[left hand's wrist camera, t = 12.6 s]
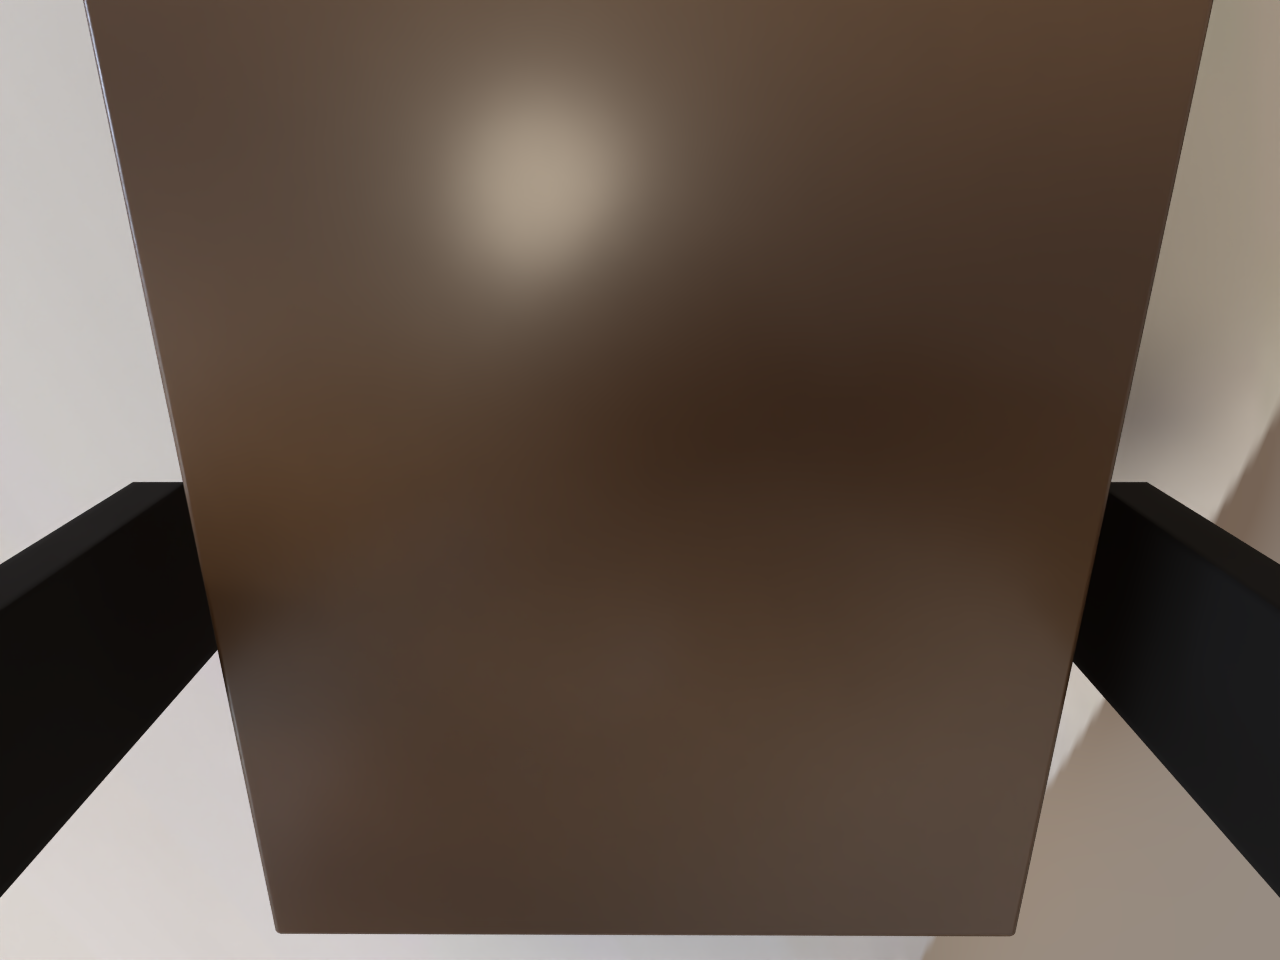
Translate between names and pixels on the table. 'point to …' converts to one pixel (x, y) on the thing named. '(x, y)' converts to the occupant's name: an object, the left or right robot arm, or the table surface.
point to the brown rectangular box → (647, 434)
